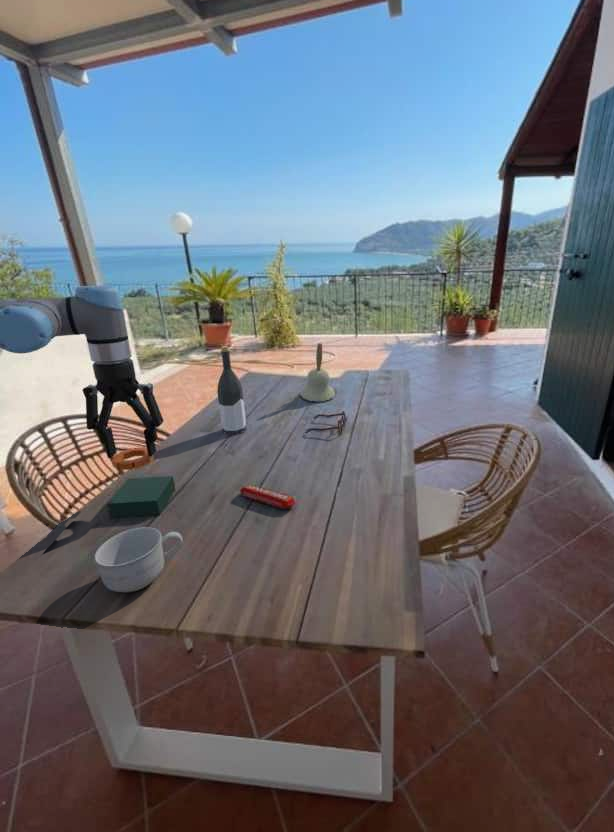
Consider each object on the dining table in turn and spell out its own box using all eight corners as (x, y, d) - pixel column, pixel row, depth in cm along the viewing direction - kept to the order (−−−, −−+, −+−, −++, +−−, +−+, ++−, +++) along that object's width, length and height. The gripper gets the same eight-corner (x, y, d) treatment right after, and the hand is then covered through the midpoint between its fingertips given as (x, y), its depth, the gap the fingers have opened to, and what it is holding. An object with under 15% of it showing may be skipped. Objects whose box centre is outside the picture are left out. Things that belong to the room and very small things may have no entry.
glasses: (340, 437, 132) (340, 423, 130) (303, 435, 133) (302, 421, 131) (346, 422, 144) (346, 409, 142) (312, 420, 145) (311, 407, 143)
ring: (106, 470, 88) (105, 464, 87) (123, 453, 95) (122, 448, 95) (145, 469, 89) (143, 462, 88) (158, 452, 96) (157, 446, 96)
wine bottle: (232, 424, 142) (222, 343, 132) (251, 427, 139) (242, 345, 129) (217, 433, 135) (206, 348, 124) (237, 436, 132) (226, 349, 122)
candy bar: (298, 505, 95) (297, 495, 94) (289, 513, 92) (288, 503, 91) (247, 489, 101) (246, 479, 100) (237, 497, 98) (236, 486, 97)
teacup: (96, 608, 67) (85, 572, 64) (112, 564, 77) (103, 531, 74) (183, 588, 71) (176, 553, 68) (188, 549, 81) (182, 516, 78)
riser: (110, 518, 90) (106, 503, 89) (131, 491, 101) (127, 478, 99) (159, 514, 92) (156, 500, 90) (175, 489, 102) (172, 475, 100)
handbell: (326, 386, 180) (328, 335, 168) (340, 401, 168) (345, 348, 156) (294, 391, 172) (295, 338, 160) (307, 408, 161) (309, 352, 149)
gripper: (169, 355, 88) (184, 445, 96) (70, 357, 86) (93, 449, 94) (157, 363, 81) (173, 459, 89) (48, 365, 79) (75, 464, 87)
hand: (132, 454), depth 91 cm, fingers closed on ring, 8 cm apart
